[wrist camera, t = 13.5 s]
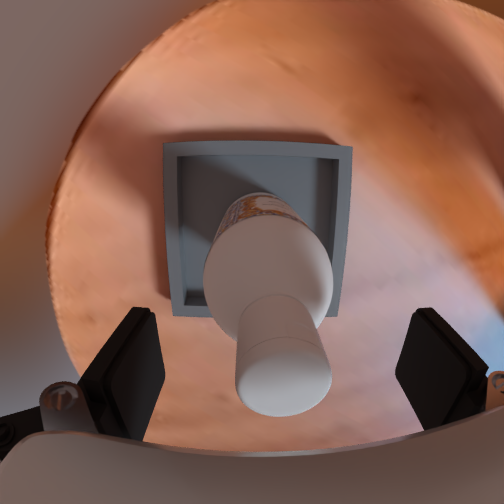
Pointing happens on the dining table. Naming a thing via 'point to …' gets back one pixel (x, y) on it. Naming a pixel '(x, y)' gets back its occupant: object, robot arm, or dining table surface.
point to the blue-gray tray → (240, 184)
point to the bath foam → (271, 303)
